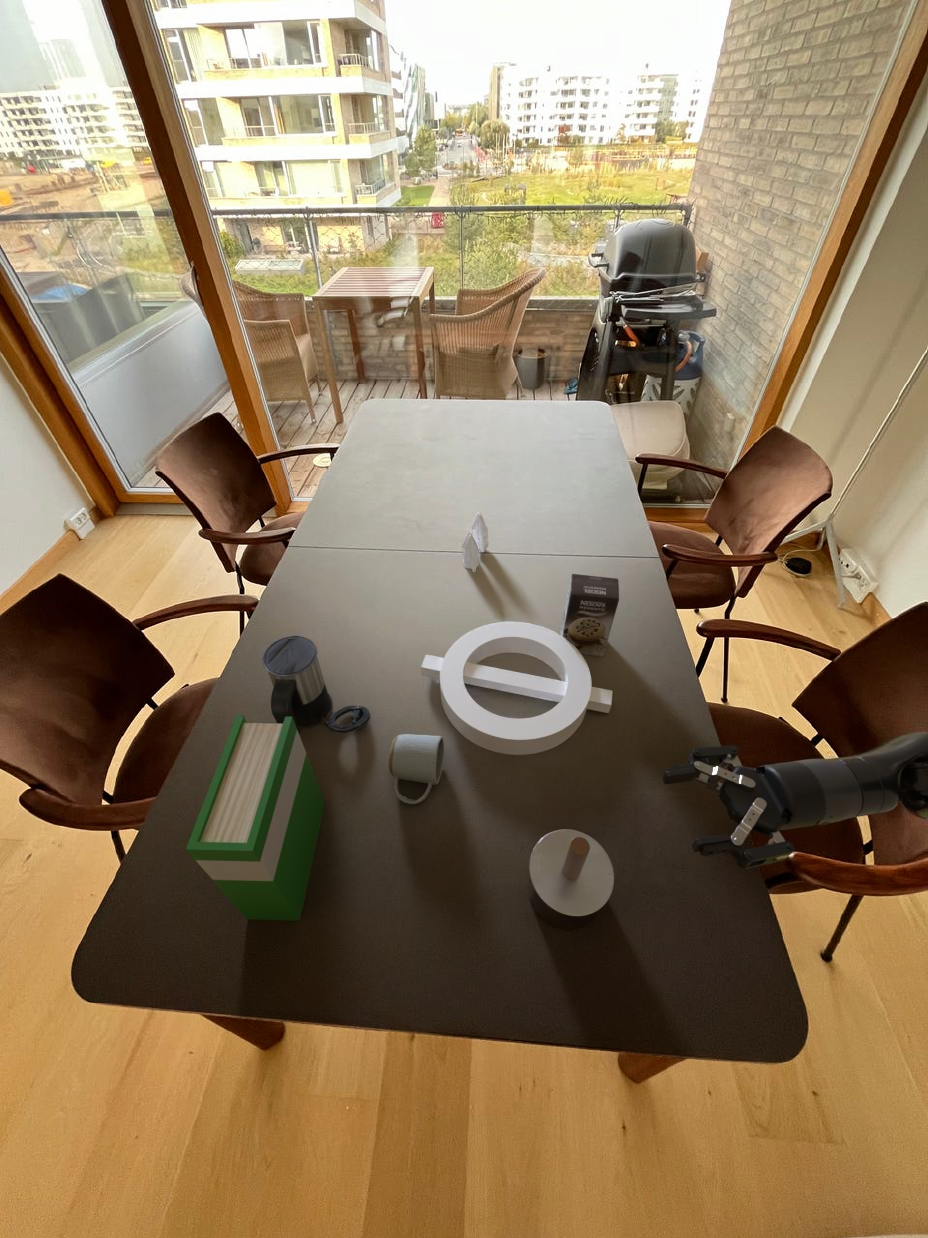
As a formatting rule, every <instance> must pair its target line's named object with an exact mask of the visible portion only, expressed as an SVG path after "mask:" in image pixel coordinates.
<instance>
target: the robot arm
mask: <svg viewBox="0 0 928 1238" xmlns="http://www.w3.org/2000/svg"><path fill="white" fill-rule="evenodd" d="M739 753H740V749H739V747H738V746H736V745H719V746H708V747H696V748H693V749H692V751H691V754H690V755H689V757H688V759H687V764H680V765H673V766H672V765H671V766H670V767H668V768H667V769H666V771H665V772H664V773H663V775H662V777H661V780H662V781H663V784H664V785H674V784H681V783H687V782H692V781H693V780H694V781H695V782H699V783H701V784H703V785H705V786H706V788H707V789H709V790H711V791H714V792H715V793H718V798H719V800H720V802H721V803H722V805H724V807H725V809H726V812H727V815H728V818H729V820H731V821H734V822H735V823H736V824H737V825H736V827H735V828H734V830H733V832H732V833H731V835H730V836H729V835H728V833H725V834H719V835H718V834H717V835H711V836H705V837H698V838H696V839H695V840H694V841H693V842H692V843H691V845H690V846H691V849H692V850H693V852H694V853H699V854H700V856H704V857H709V856H716V855H722V854H729V855H731V856H732V857H733V858H734V859H735V860H736V864H737V866H738V867H739V868H740V869H741V870H748V869H752V868H756V867H761V866H766V865H770V864H774V863H778V862H783V861H785V860H786V859H787V858H789V857H790V855H792V854H793V853H794V851H795V850H796V847H795V845H794V843H792V842H791V841H789V840H785V838H784V836H783V835H782V833H781V832H780V831H786V830H787V831H789V830H794V829H801V828H807V827H814V826H827V825H830V824H833V823H838V822H842V821H844V820H848V819H851V818H858V817H867V816H871V815H872V816H873V815H879V814H884V813H887V812H891V811H893V810H894V809H895V808H896V807H897V806H898V805H899V803H900V805H902V807H903V808H904V810H905V811H907V812H908V813H909V814H910V815H913V816H914V817H916V818H919V819H922V820H925V821H927V820H928V731H913V732H907V733H903V734H900V735H898V736H896V737H893V738H890V739H889V740H886V741H885V742H883V743H882V744H880V745H878V746H876V747H874V748H872V749H869V750H867V751H865V752H862V753H858V754H853V755H848V756H847V755H846V756H839V757H833V758H810V759H809V758H808V759H801V760H793V761H787V762H786V761H785V762H778V763H771V764H764V765H760V766H756V767H747V766H744V765H742V763H741V760H740V758H739V756H738V754H739ZM719 765H720V766H719ZM725 768H729V769H731V770H732V771H731V770H728V769H725ZM719 780H722V781H724V782H723V783H722V782H720V781H719ZM751 831H753V832H756V833H758V834H761V835H763V836H766V837H769V839H768V841H766V843H765V845H763V846H757V847H754V848H749V849H748V847H747V846H746V845H745V844H744V841H745V840H746V838H747V837H748V835H750V832H751Z"/></svg>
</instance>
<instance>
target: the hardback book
mask: <svg viewBox="0 0 928 1238" xmlns="http://www.w3.org/2000/svg"><path fill="white" fill-rule="evenodd" d="M303 743H304V742H303V741H302V739H301V735H300V736H299V733H298V730H297V728H296V725H295V723H294V720H293V717H285V719H284V722H283V724H277V723H273V722H272V723H269V722H268V723H267V722H266V723H265V722H247V720H246V718H245V716H244V715H236V716H235V719H234V721H233V724H232V726H231V729H230V732H229V734H228V737H227V740H226V742H225V745H224V748H223V750H222V754H221V755H220V759H219V760H218V763H217V766H216V768H215V772H214V774H213V777H212V779H211V782H210V785H209V787H208V789H207V793H206V795H205V798H204V801H203V803H202V806H201V809H200V810H199V813H198V815H197V819H196V821H195V824H194V826H193V830H192V832H191V835H190V837H189V839H188V841H187V845H186V847H185V850H186V852H188V854H189V855H190V856H191V857H192V858H193V860H194V861H195V862H196V863H197V864H198V865H199V867H200V868H202V870H203V871H204V872H205V874H207V876H208V877H210V879H211V880H212V881H213V882H214V883H215V885H216V886H217V887H218V888H219V889H220V890H221V891H222V892H223V893H224V895H226V897H227V898H228V899H229V900H230V901H231V903H232V904H233V905H234V906H235V908H237V910H239V912H240V913H241V914H242V915H243V917H245V918H246V920H256V921H257V920H259V921H296V922H297V921H298V922H299V921H301V917H302V913H303V908H304V902H305V899H306V894H307V890H308V889H307V888H308V883H309V881H310V874H311V870H312V867H313V862H314V856H315V852H316V847H317V842H318V837H319V833H320V828H321V823H322V818H323V815H324V814H323V813H324V809H325V805H326V801H325V798H324V795H323V793H322V790H321V788H320V784H319V783H318V780H317V778H316V774H315V772H314V770H313V767H312V764H311V761H310V759H309V757H308V754H307V751H306V749H305V746H304V744H303Z"/></svg>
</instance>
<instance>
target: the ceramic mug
mask: <svg viewBox="0 0 928 1238" xmlns="http://www.w3.org/2000/svg"><path fill="white" fill-rule="evenodd" d="M444 755H445V743H444V737H442V736H440V735H427V734H412V733H403V734H397V735H396V736H395V737H394V738H393V740H392V742H391V745H390V750H389V755H388V770H389V773H390V775H391V776H392V777H394V783H393V784H394V792H395V795H396V796H397V798H398V799H399V800H400V801H401V802H402V803H405V804H408V805H418V804H421V803H422V802H424V801H425V800H426V799H427V797H428V796H429V794H430V792H431V790H432V787H433V785H438V784H439V782H440V779H441V775H442V772H443V764H444ZM400 780H404V781H412V782H417V783H422V784H427V788H426V790H425V792H424V793H423V795H422V796H420V797H419V798H418V799H411V798H408V797H407V796H406V795H402V794H401V793H400V790H399V781H400Z"/></svg>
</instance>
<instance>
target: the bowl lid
mask: <svg viewBox="0 0 928 1238" xmlns="http://www.w3.org/2000/svg"><path fill="white" fill-rule="evenodd" d="M533 847H534V848H533V849H532V851H531V854H530V858H529V863H528V874H529V877H530V879H531V883H532V885H533V888H534V890H535V892H536V894H537V895H538V896H539V898H540V899H541V900H542V901H543V902H544V904H546V905H547V906H548V907H549V908H551V909H552V910H554V911H555V912H557V913H559V914H562V915H565V916H569V917H585V916H589V915H591V914H594V913H595V912H597V911H598V912H599V911H601V909H603V908H604V907H605V905H606V904H607V902H608V901H609V899H610V898H611V895H612V893H613V890H614V886H615V873H614V868H613V864H612V862H611V861H612V860H611V859H610V857H609V855H608V853H607V852H606V850H605V849H604V847H603V846H602V845H601V844H600V843H599V842H598V841H597V840H595V839H594V838H593V837H591V836H590V835H588V834H586V833H584V832H582V831H578V830H575V829H558V830H554V831H551V832H549V833H547V834H545V835H544V836H543V837H541V838H540V839H539V841H537V843H536V844H535V846H533ZM598 912H597V913H598Z"/></svg>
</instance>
